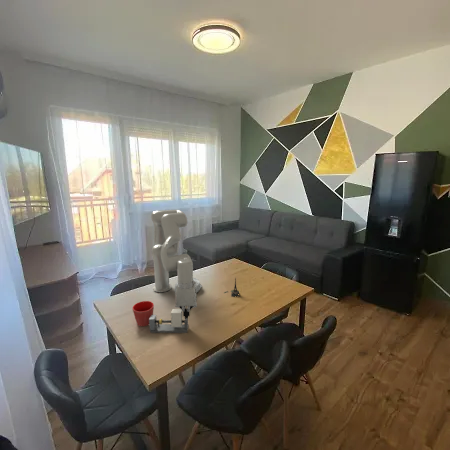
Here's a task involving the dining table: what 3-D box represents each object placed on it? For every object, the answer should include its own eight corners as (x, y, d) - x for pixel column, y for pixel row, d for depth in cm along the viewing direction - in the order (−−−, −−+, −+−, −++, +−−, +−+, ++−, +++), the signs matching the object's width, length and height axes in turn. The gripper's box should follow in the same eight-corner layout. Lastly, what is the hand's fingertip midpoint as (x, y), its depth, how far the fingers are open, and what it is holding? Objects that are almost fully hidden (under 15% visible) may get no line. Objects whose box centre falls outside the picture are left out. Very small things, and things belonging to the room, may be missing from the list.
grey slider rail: (149, 332, 123) (148, 320, 122) (152, 326, 129) (151, 313, 127) (187, 332, 124) (186, 320, 122) (188, 326, 129) (188, 314, 128)
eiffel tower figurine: (249, 297, 160) (250, 278, 157) (238, 302, 154) (238, 282, 151) (234, 289, 171) (234, 271, 169) (222, 293, 165) (223, 275, 162)
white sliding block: (171, 326, 124) (170, 312, 122) (173, 322, 127) (172, 308, 126) (181, 326, 124) (180, 312, 122) (182, 322, 127) (182, 308, 126)
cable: (202, 285, 176) (202, 277, 175) (197, 297, 159) (197, 288, 158) (179, 284, 178) (178, 276, 177) (171, 295, 161) (171, 287, 160)
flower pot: (137, 331, 125) (136, 314, 123) (131, 320, 133) (130, 304, 131) (157, 323, 131) (156, 307, 129) (150, 314, 139) (149, 298, 137)
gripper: (201, 280, 125) (201, 313, 129) (171, 280, 125) (173, 313, 129) (200, 287, 117) (200, 321, 121) (168, 287, 117) (170, 321, 121)
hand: (186, 317), depth 125 cm, fingers closed
